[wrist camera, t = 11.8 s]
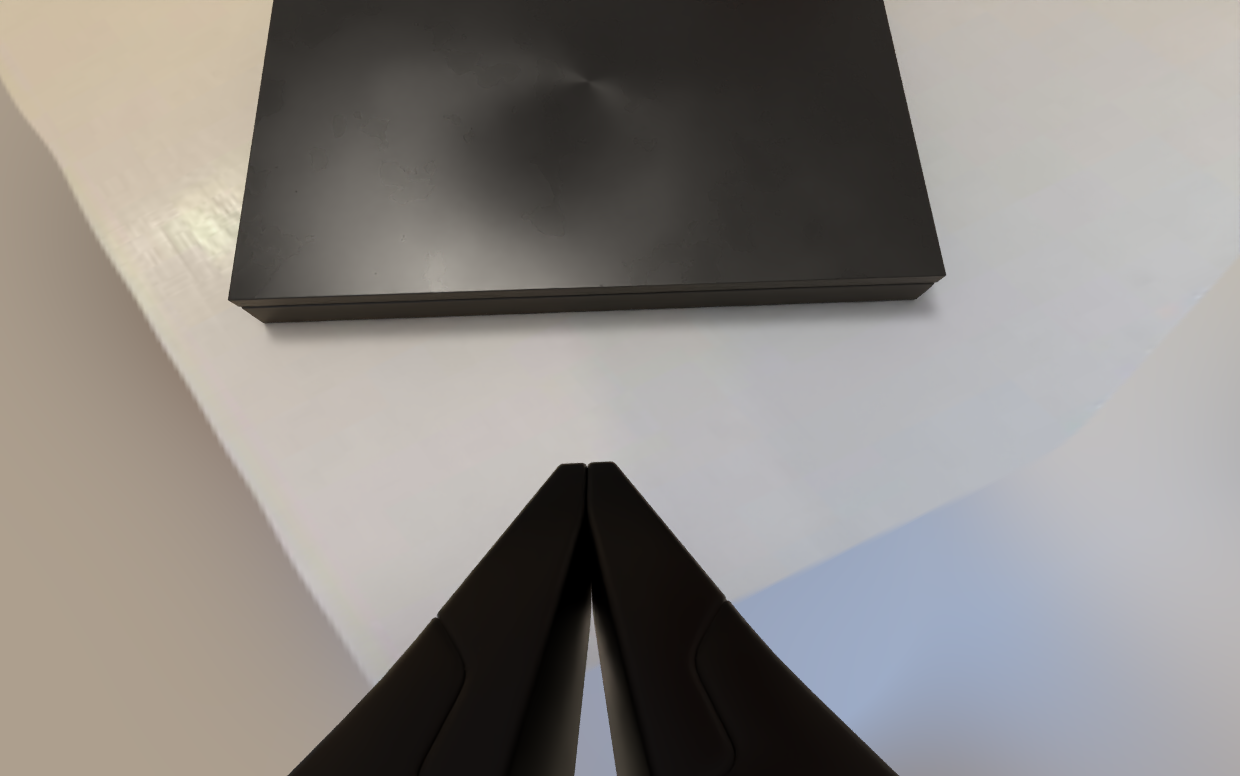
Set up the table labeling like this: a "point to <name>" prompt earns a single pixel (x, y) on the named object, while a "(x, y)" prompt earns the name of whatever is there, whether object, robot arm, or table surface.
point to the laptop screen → (578, 151)
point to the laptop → (585, 302)
